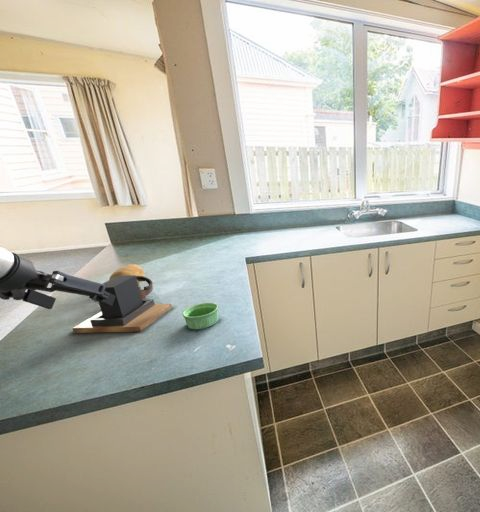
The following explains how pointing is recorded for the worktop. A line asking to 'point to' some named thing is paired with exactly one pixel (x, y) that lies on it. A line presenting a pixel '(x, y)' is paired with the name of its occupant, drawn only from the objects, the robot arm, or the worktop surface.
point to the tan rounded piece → (128, 271)
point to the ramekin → (201, 315)
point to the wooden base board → (125, 319)
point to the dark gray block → (122, 296)
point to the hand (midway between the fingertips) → (82, 302)
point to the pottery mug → (147, 288)
